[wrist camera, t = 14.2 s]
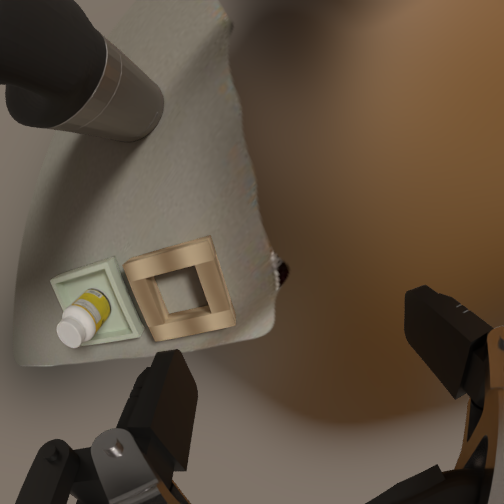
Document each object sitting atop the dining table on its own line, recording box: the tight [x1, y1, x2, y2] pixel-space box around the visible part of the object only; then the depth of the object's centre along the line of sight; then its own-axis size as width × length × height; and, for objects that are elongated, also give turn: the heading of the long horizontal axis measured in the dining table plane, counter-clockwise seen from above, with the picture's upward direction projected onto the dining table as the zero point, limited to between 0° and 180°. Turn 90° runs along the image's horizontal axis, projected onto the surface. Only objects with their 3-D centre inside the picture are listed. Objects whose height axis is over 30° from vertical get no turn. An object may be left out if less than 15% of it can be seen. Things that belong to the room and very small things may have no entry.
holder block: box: [123, 235, 236, 342], centre depth 37 cm, size 12×12×3 cm
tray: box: [50, 256, 145, 346], centre depth 38 cm, size 12×12×2 cm
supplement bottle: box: [57, 287, 112, 348], centre depth 34 cm, size 5×5×10 cm
